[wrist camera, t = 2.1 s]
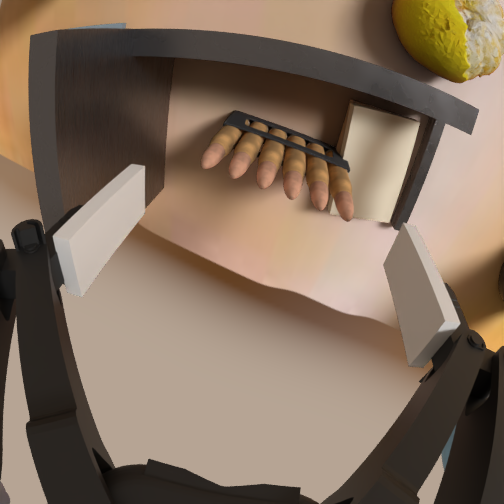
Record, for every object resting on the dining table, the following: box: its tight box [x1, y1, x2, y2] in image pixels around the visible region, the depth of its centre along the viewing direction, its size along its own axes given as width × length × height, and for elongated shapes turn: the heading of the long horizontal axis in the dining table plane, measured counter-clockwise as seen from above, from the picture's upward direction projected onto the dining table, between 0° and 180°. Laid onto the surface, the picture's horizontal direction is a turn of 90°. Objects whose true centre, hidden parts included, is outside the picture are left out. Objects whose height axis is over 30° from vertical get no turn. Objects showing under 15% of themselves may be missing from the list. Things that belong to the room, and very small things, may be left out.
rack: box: [29, 28, 479, 285], centre depth 21 cm, size 26×16×16 cm, turn 80°
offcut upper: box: [328, 103, 420, 223], centre depth 25 cm, size 6×10×1 cm, turn 174°
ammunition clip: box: [201, 110, 354, 222], centre depth 22 cm, size 11×2×12 cm, turn 72°
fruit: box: [391, 0, 504, 83], centre depth 16 cm, size 11×10×8 cm
